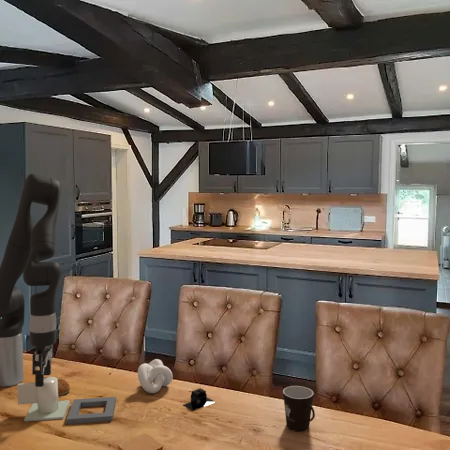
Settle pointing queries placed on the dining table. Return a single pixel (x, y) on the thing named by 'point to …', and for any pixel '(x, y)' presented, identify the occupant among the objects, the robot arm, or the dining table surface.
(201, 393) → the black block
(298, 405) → the coffee mug
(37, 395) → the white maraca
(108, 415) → the socket
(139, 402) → the dining table surface
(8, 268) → the robot arm
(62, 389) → the pastry
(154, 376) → the white knot sculpture
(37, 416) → the trivet
